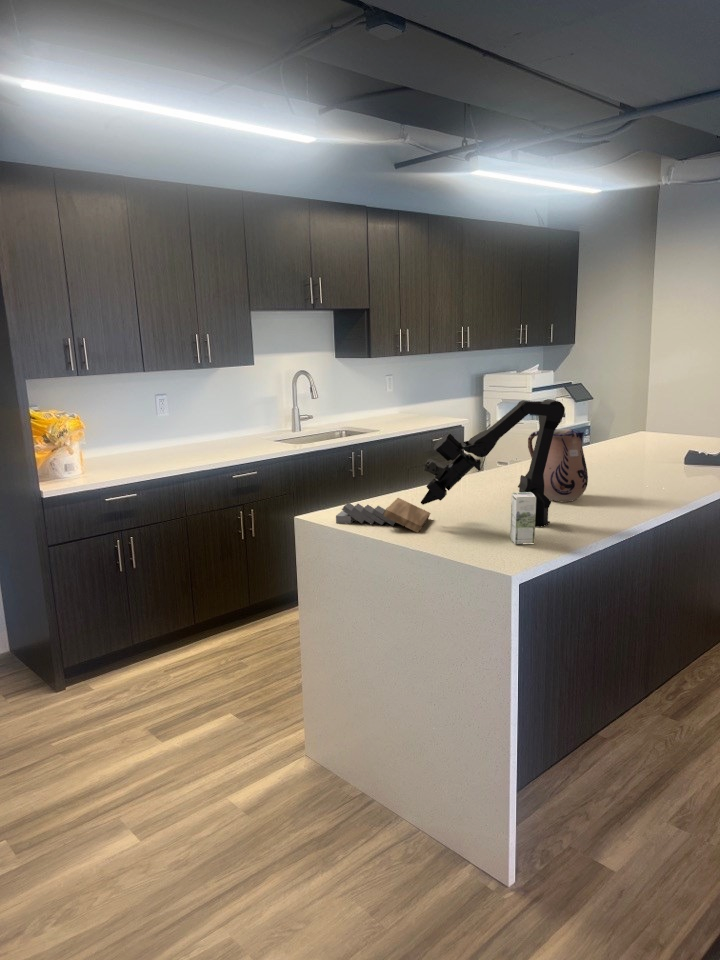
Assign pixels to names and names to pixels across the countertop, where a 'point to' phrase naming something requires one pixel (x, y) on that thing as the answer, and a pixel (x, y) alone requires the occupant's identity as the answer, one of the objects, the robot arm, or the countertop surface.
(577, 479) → the ceramic pitcher
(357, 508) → the domino
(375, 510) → the domino
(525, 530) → the syrup box
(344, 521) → the block
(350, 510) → the domino
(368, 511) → the domino
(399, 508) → the board
